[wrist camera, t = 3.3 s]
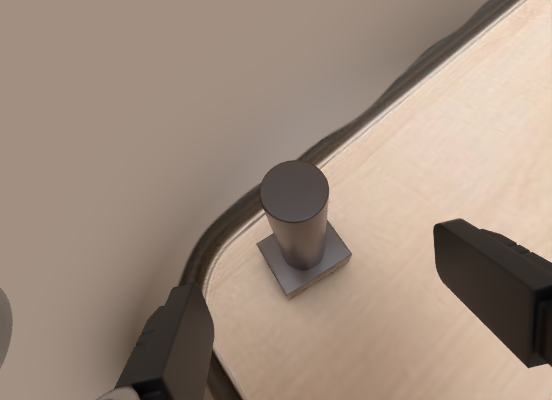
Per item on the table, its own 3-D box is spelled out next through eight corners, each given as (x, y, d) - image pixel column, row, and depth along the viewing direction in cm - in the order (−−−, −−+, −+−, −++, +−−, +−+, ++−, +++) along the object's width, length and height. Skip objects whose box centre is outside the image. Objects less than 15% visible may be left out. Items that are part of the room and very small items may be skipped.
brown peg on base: (290, 300, 21) (264, 265, 11) (262, 254, 23) (217, 183, 13) (348, 263, 22) (376, 196, 11) (317, 220, 24) (318, 127, 13)
